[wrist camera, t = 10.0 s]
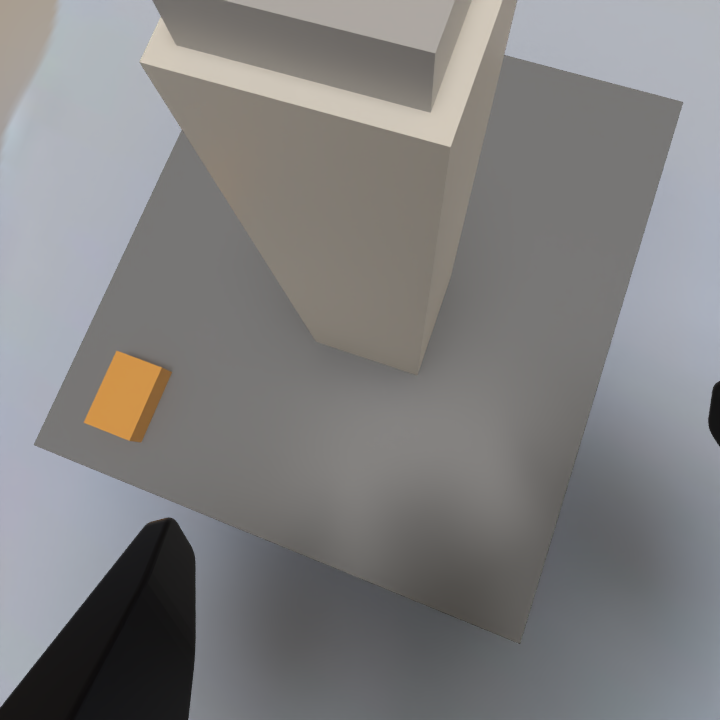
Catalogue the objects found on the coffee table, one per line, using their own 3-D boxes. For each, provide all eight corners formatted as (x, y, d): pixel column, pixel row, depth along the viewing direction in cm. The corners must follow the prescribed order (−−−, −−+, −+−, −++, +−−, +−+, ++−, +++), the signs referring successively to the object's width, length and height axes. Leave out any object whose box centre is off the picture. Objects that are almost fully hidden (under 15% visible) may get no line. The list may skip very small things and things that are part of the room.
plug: (417, 375, 18) (458, 92, 5) (316, 341, 18) (99, -1, 5) (450, 277, 18) (568, -217, 5) (351, 246, 19) (237, -277, 6)
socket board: (501, 618, 19) (526, 652, 15) (85, 449, 21) (17, 443, 17) (645, 152, 22) (695, 86, 18) (267, 47, 24) (242, -32, 20)
